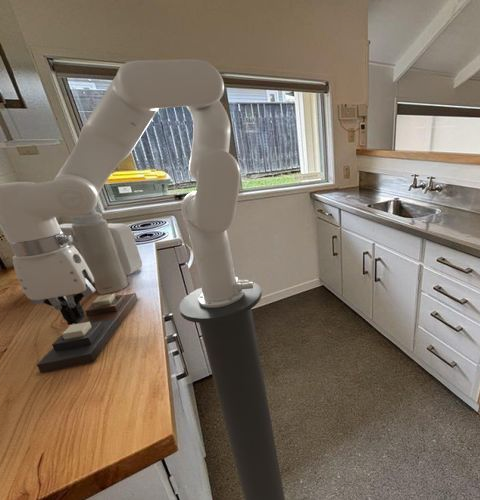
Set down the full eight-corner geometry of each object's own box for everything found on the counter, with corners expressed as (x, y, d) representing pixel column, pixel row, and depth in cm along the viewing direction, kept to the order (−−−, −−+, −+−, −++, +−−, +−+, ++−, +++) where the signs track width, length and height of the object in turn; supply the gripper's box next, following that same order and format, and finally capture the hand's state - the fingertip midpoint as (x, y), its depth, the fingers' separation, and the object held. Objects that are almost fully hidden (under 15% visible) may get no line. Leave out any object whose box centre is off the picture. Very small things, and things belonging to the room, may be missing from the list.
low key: (116, 299, 79) (114, 293, 78) (111, 305, 76) (108, 299, 75) (101, 301, 78) (98, 296, 77) (94, 308, 75) (92, 302, 74)
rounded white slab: (55, 277, 102) (33, 229, 96) (76, 268, 109) (57, 223, 103) (127, 278, 100) (111, 229, 93) (144, 269, 107) (129, 223, 100)
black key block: (119, 325, 73) (114, 312, 72) (93, 362, 61) (86, 347, 59) (76, 333, 71) (70, 319, 69) (40, 373, 58) (32, 357, 57)
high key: (92, 327, 67) (89, 321, 66) (84, 336, 63) (81, 330, 63) (73, 331, 66) (70, 324, 65) (64, 340, 62) (61, 334, 62)
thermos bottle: (91, 295, 89) (56, 207, 79) (107, 283, 96) (76, 202, 86) (119, 292, 90) (88, 205, 80) (132, 281, 98) (105, 200, 88)
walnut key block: (137, 299, 86) (133, 287, 84) (119, 325, 73) (114, 312, 72) (102, 305, 83) (97, 293, 82) (76, 333, 71) (70, 319, 69)
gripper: (93, 234, 62) (122, 305, 69) (6, 244, 58) (45, 319, 65) (75, 245, 56) (109, 322, 63) (-25, 258, 51) (23, 339, 58)
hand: (76, 320), depth 64 cm, fingers closed
